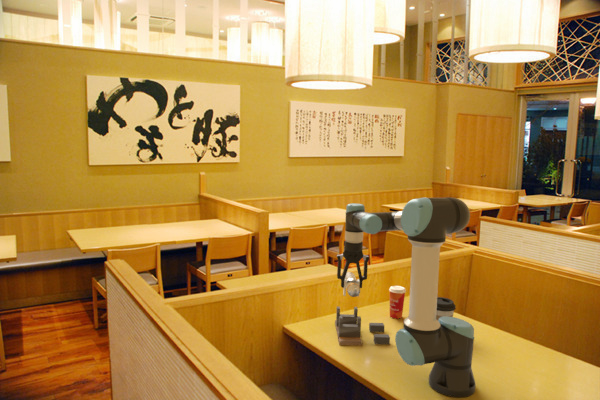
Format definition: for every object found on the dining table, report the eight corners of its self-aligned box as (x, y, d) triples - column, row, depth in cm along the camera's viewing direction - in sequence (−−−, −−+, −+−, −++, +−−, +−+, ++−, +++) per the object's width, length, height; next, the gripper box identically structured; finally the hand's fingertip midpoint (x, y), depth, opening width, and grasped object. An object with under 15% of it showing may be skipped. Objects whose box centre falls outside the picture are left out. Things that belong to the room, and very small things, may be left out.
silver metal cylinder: (360, 297, 192) (360, 284, 191) (347, 297, 192) (347, 284, 191) (355, 283, 210) (355, 271, 209) (343, 283, 210) (343, 271, 209)
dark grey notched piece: (361, 345, 192) (362, 322, 191) (339, 344, 192) (340, 322, 191) (354, 323, 214) (355, 303, 213) (334, 323, 214) (335, 303, 213)
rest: (389, 344, 194) (389, 337, 194) (374, 344, 194) (375, 337, 194) (382, 329, 209) (383, 323, 209) (369, 329, 209) (369, 322, 208)
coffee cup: (459, 337, 203) (462, 303, 201) (437, 341, 199) (439, 306, 196) (442, 327, 213) (444, 295, 211) (420, 330, 209) (423, 297, 207)
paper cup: (384, 314, 226) (385, 286, 224) (397, 312, 230) (399, 284, 228) (394, 320, 219) (395, 291, 217) (407, 318, 223) (409, 289, 221)
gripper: (374, 239, 202) (371, 292, 205) (331, 238, 202) (329, 291, 205) (376, 243, 194) (373, 298, 197) (332, 242, 194) (330, 297, 197)
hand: (351, 294), depth 201 cm, fingers closed on silver metal cylinder, 5 cm apart
